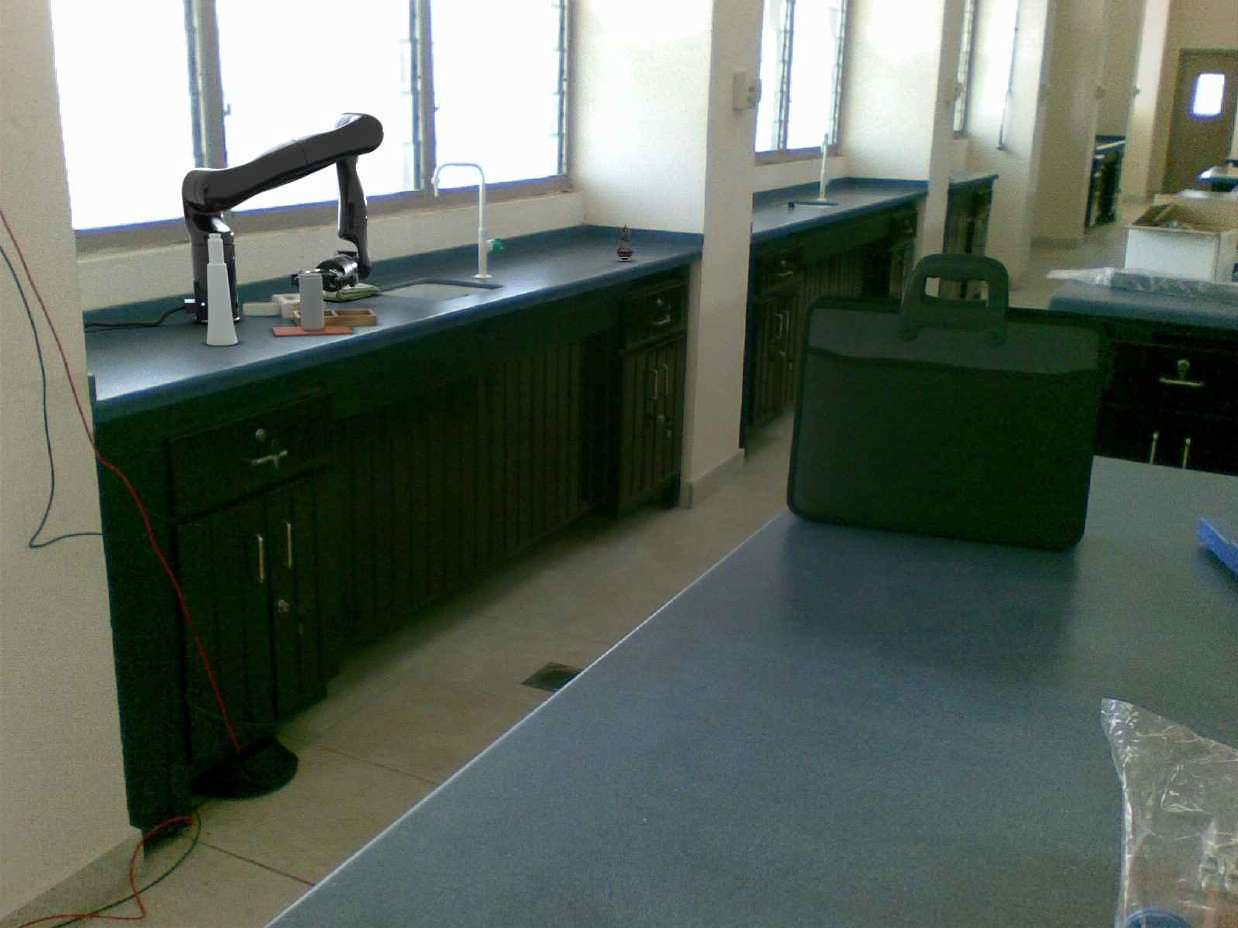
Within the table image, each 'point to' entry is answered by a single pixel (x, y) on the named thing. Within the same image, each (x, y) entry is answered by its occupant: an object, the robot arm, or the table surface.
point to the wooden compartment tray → (344, 317)
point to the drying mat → (300, 332)
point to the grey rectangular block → (311, 301)
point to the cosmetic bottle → (218, 297)
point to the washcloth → (351, 292)
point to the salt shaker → (625, 244)
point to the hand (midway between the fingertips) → (317, 283)
